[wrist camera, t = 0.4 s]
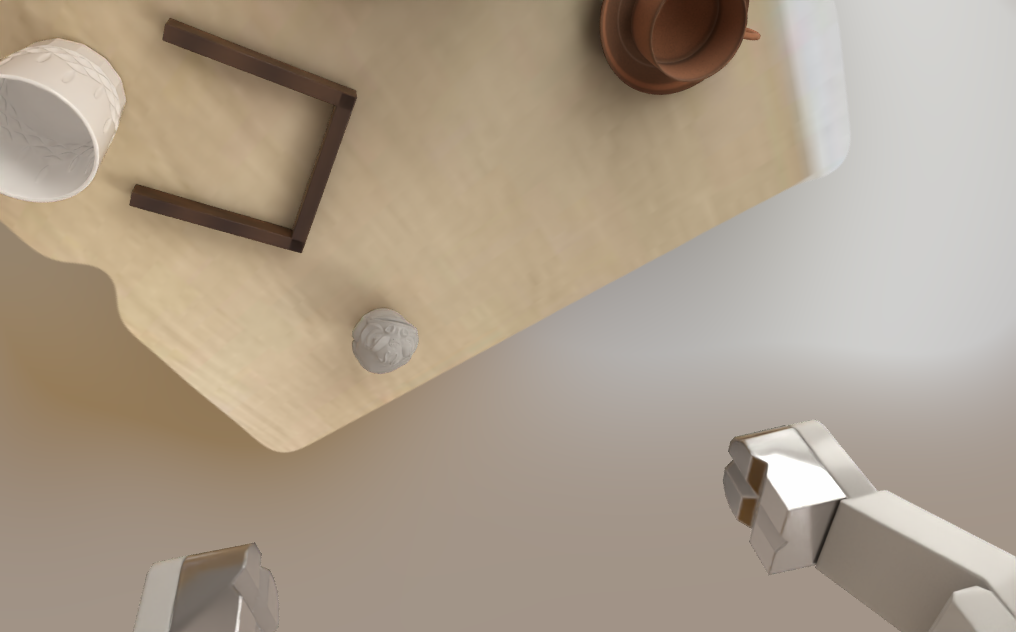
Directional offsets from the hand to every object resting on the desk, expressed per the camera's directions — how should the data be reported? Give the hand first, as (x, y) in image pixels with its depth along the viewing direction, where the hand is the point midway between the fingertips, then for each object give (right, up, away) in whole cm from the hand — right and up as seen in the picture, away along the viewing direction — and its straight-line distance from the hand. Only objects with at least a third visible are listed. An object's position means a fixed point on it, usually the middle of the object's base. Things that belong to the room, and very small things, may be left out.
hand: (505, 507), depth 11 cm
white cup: (-31, +19, +36) cm, 51 cm away
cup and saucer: (+12, +27, +42) cm, 51 cm away
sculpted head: (-12, +3, +53) cm, 55 cm away
